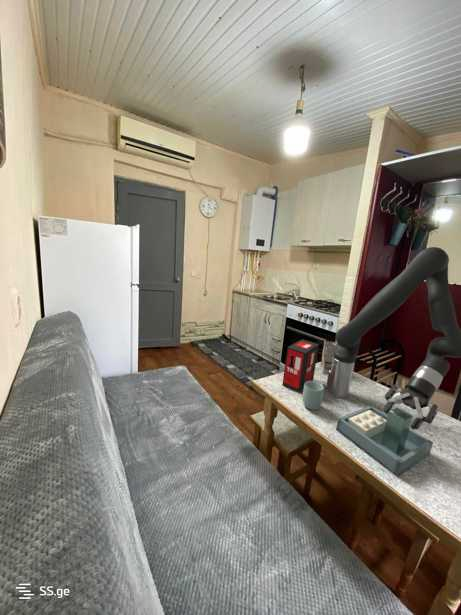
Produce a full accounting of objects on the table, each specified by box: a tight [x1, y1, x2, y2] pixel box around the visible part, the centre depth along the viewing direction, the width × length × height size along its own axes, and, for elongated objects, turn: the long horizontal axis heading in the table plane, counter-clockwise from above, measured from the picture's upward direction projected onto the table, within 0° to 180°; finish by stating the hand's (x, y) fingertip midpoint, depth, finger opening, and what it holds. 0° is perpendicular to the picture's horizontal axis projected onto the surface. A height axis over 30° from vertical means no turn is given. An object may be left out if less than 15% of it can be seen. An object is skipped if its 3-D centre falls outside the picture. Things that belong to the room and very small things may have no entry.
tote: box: [335, 405, 434, 477], centre depth 90 cm, size 22×20×5 cm
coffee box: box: [320, 340, 337, 375], centre depth 141 cm, size 9×6×16 cm
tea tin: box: [381, 407, 414, 454], centre depth 86 cm, size 5×5×13 cm
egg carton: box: [348, 410, 387, 438], centre depth 94 cm, size 7×13×5 cm, turn 119°
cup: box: [302, 380, 325, 411], centre depth 107 cm, size 8×8×10 cm
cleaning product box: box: [281, 339, 320, 394], centre depth 124 cm, size 16×9×20 cm, turn 141°
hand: (398, 420), depth 84 cm, fingers open, 8 cm apart
